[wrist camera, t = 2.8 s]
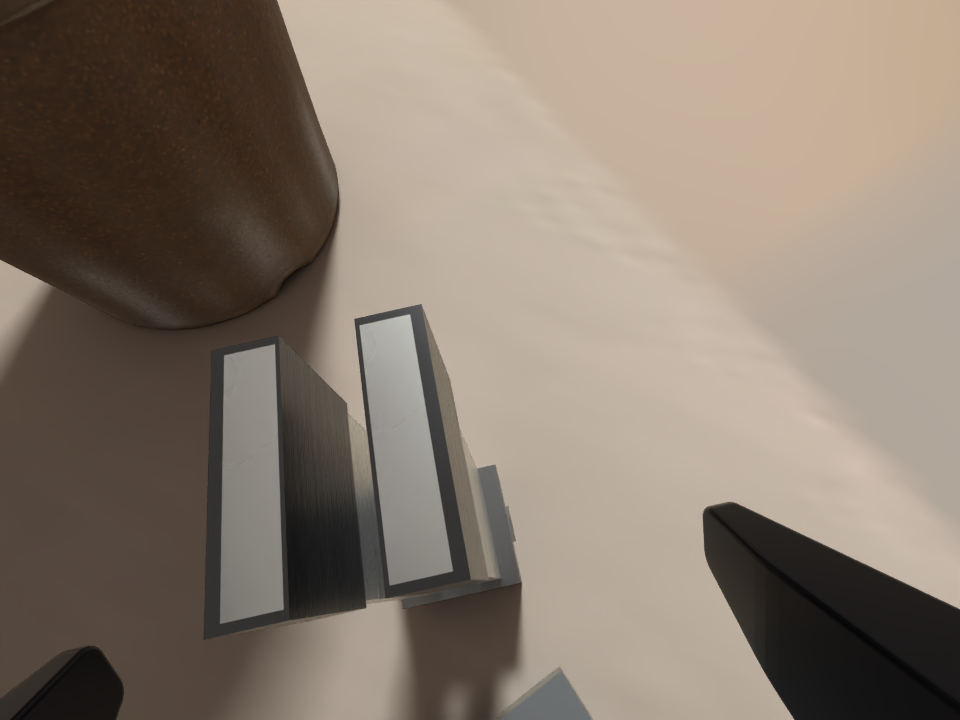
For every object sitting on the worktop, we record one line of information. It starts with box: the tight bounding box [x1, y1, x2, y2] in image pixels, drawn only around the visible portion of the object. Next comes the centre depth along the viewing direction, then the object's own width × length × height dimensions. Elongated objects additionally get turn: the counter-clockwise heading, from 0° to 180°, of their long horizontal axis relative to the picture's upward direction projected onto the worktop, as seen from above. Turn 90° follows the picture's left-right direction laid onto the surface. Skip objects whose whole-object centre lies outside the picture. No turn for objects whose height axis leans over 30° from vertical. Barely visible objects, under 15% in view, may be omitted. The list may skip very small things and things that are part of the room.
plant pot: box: [0, 0, 338, 329], centre depth 15 cm, size 16×16×16 cm
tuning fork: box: [204, 304, 522, 640], centre depth 11 cm, size 3×3×12 cm
